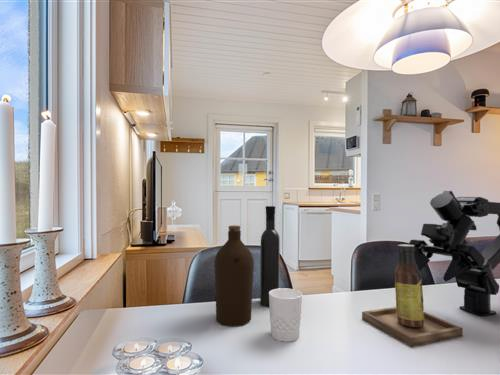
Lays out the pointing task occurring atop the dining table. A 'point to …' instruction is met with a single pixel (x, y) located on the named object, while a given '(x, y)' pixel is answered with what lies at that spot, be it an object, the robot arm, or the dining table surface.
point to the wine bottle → (269, 258)
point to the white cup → (285, 314)
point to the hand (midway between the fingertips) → (428, 276)
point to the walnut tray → (412, 336)
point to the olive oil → (233, 281)
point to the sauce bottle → (408, 289)
